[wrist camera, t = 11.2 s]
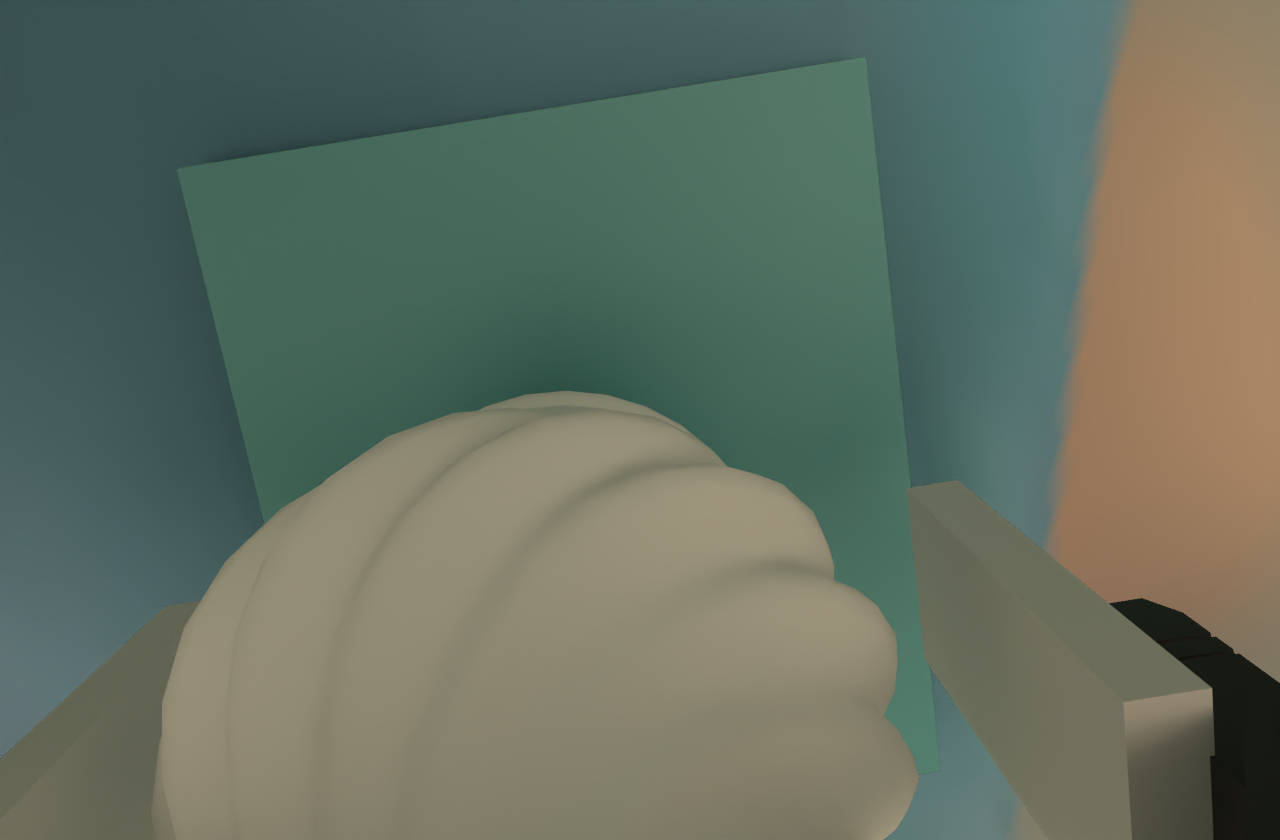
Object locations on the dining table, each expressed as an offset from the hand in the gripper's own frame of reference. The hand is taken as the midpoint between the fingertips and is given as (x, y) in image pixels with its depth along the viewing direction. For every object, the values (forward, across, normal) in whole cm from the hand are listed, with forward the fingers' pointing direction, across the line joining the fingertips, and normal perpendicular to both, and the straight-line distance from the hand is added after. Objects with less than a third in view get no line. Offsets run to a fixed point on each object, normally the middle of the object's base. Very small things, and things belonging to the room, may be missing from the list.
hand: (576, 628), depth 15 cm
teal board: (+9, 0, 0) cm, 9 cm away
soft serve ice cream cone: (+7, 0, 0) cm, 7 cm away
